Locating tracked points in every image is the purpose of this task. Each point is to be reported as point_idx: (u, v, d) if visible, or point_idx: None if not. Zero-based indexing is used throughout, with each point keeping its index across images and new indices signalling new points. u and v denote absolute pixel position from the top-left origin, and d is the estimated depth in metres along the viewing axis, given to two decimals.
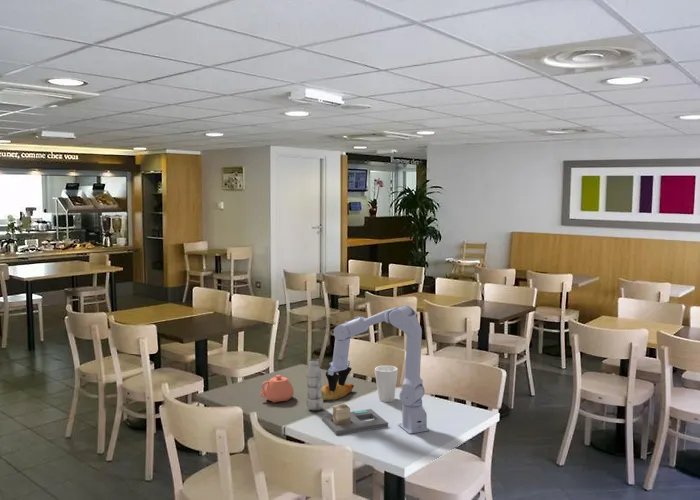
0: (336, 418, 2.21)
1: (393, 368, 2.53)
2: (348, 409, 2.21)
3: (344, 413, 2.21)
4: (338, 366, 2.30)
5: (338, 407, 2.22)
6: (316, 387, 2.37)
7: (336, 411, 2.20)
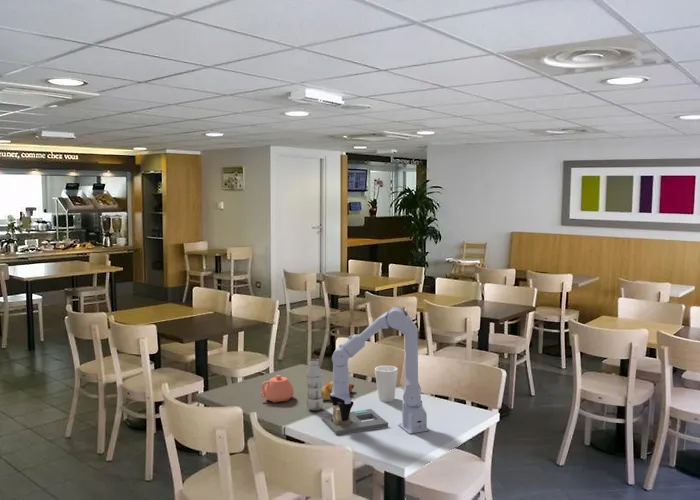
0: (336, 418, 2.21)
1: (393, 368, 2.53)
2: None
3: None
4: (345, 393, 2.20)
5: (338, 407, 2.22)
6: (316, 387, 2.37)
7: (336, 411, 2.20)
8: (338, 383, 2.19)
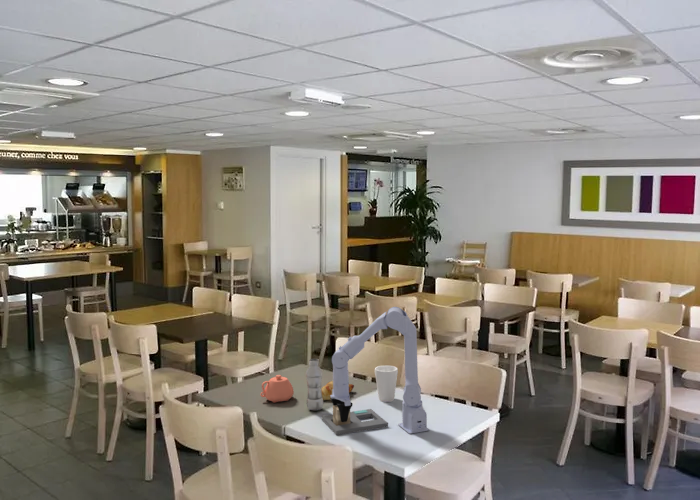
0: (336, 418, 2.21)
1: (393, 368, 2.53)
2: None
3: None
4: (345, 395, 2.20)
5: None
6: (316, 387, 2.37)
7: (336, 411, 2.20)
8: (338, 385, 2.19)
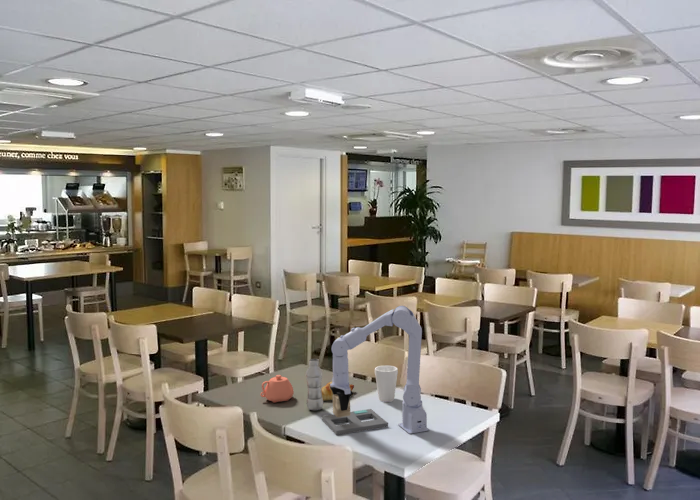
0: (336, 407, 2.20)
1: (393, 368, 2.53)
2: None
3: None
4: (345, 383, 2.20)
5: None
6: (316, 387, 2.37)
7: (336, 400, 2.20)
8: (338, 373, 2.19)
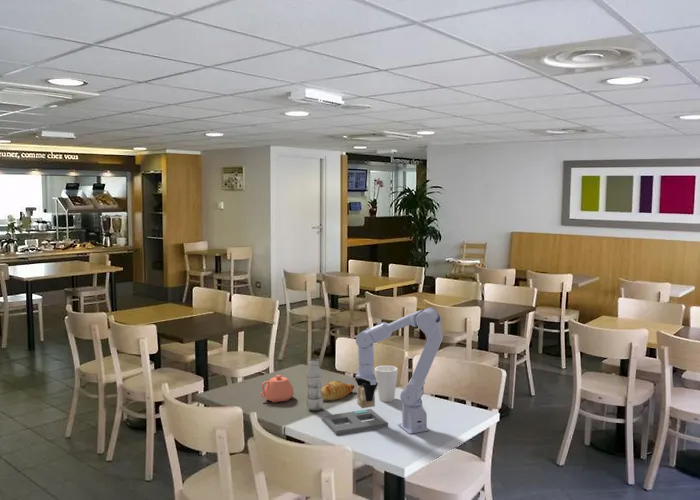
0: (361, 398, 2.24)
1: (393, 368, 2.53)
2: None
3: None
4: (371, 374, 2.23)
5: (363, 387, 2.25)
6: (316, 387, 2.37)
7: (361, 391, 2.23)
8: (363, 365, 2.22)
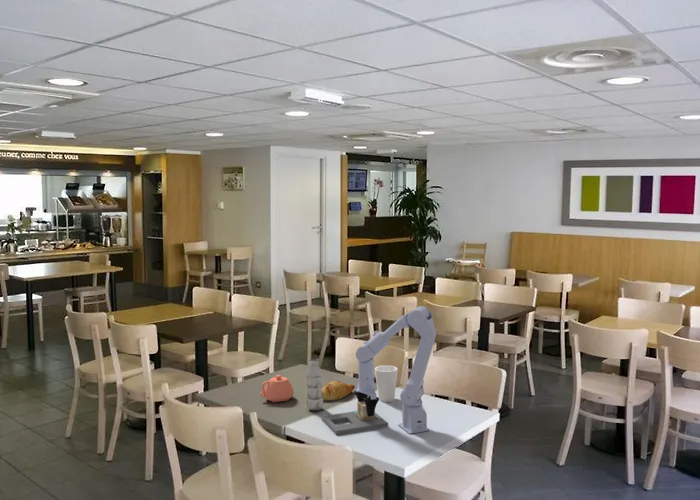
0: (361, 414, 2.24)
1: (393, 368, 2.53)
2: None
3: None
4: (371, 389, 2.23)
5: (363, 404, 2.25)
6: (316, 387, 2.37)
7: (361, 407, 2.24)
8: (364, 379, 2.23)
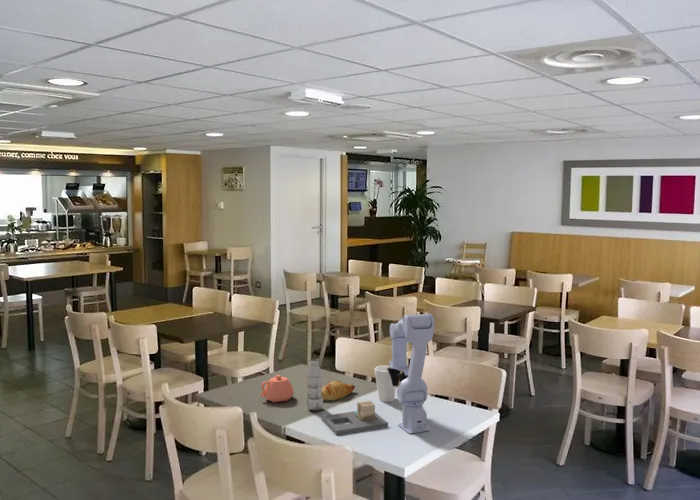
0: (361, 414, 2.24)
1: None
2: (373, 405, 2.24)
3: (369, 409, 2.24)
4: (404, 365, 2.32)
5: (363, 404, 2.25)
6: (316, 387, 2.37)
7: (361, 407, 2.24)
8: (397, 356, 2.31)
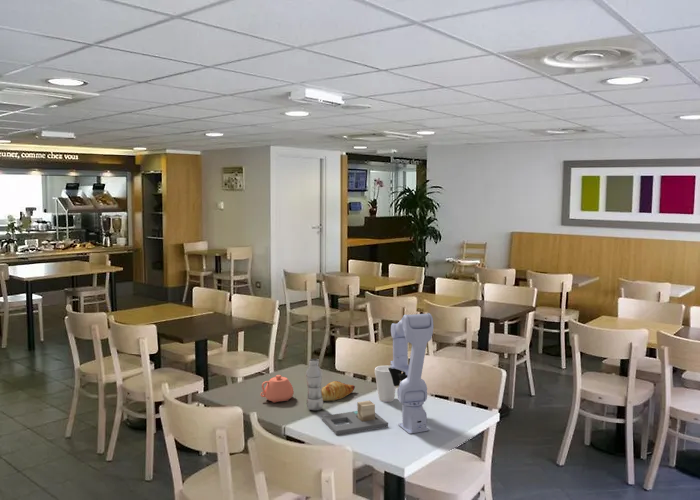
0: (361, 414, 2.24)
1: None
2: (373, 405, 2.24)
3: (369, 409, 2.24)
4: (405, 365, 2.32)
5: (363, 404, 2.25)
6: (316, 387, 2.37)
7: (361, 407, 2.24)
8: (398, 356, 2.32)
